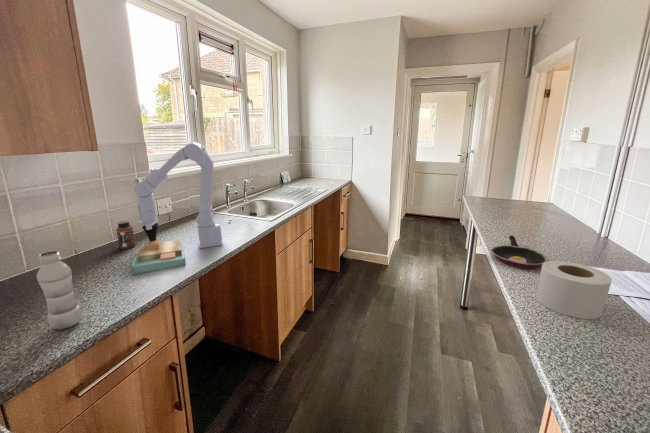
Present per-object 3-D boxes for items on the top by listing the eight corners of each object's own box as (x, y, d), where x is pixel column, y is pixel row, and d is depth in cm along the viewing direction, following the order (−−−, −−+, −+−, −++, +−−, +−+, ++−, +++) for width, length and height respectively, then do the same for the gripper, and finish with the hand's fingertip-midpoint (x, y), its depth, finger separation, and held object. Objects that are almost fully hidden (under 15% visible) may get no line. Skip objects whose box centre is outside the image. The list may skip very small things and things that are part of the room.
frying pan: (491, 266, 114) (492, 257, 113) (487, 239, 142) (488, 232, 141) (551, 276, 106) (553, 266, 105) (534, 246, 134) (536, 238, 133)
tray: (184, 255, 122) (183, 248, 122) (185, 265, 113) (184, 258, 113) (135, 263, 115) (134, 256, 114) (132, 274, 106) (131, 266, 105)
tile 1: (159, 244, 127) (159, 240, 127) (159, 248, 123) (158, 244, 123) (146, 246, 125) (145, 242, 125) (145, 250, 121) (144, 246, 120)
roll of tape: (528, 287, 98) (535, 257, 95) (586, 295, 94) (594, 263, 91) (545, 314, 84) (554, 279, 81) (614, 324, 79) (625, 288, 77)
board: (181, 245, 134) (180, 239, 133) (181, 255, 122) (181, 250, 122) (142, 250, 127) (141, 245, 127) (139, 262, 116) (138, 256, 115)
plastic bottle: (63, 318, 81) (44, 249, 76) (89, 317, 82) (73, 248, 77) (43, 333, 75) (22, 259, 70) (72, 332, 76) (53, 258, 70)
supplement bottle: (128, 249, 128) (123, 224, 125) (116, 248, 130) (111, 223, 126) (139, 245, 134) (134, 220, 131) (127, 243, 135) (123, 219, 132)
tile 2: (175, 256, 120) (175, 251, 120) (175, 261, 116) (175, 256, 115) (161, 258, 118) (160, 254, 118) (161, 263, 114) (160, 258, 113)
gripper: (138, 207, 130) (143, 237, 133) (134, 215, 117) (140, 248, 121) (157, 205, 133) (161, 235, 136) (155, 213, 120) (160, 245, 124)
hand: (153, 241), depth 129 cm, fingers closed
